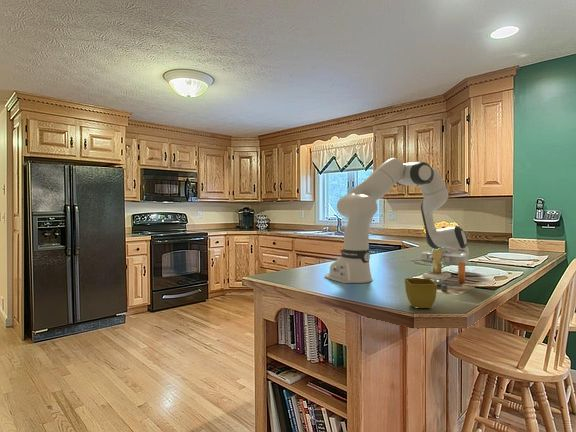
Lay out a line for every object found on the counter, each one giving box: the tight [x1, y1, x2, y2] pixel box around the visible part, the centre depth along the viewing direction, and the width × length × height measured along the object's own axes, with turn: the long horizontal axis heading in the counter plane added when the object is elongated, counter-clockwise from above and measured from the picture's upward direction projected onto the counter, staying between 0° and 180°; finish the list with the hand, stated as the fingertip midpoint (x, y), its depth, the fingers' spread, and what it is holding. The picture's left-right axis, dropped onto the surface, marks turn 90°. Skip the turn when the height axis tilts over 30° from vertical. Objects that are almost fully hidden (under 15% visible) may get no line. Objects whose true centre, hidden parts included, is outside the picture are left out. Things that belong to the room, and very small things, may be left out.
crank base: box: [431, 279, 476, 296], centre depth 145 cm, size 18×17×3 cm
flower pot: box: [404, 277, 437, 309], centre depth 122 cm, size 9×9×9 cm
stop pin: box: [432, 248, 443, 274], centre depth 163 cm, size 4×4×11 cm
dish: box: [422, 270, 452, 281], centre depth 163 cm, size 9×9×2 cm
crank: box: [433, 262, 466, 287], centre depth 144 cm, size 12×5×9 cm, turn 68°
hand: (436, 259), depth 162 cm, fingers closed on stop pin, 4 cm apart
